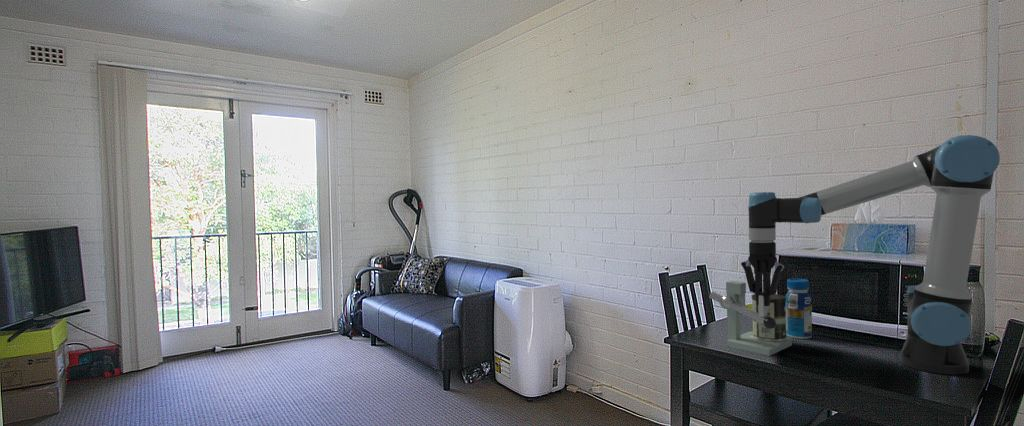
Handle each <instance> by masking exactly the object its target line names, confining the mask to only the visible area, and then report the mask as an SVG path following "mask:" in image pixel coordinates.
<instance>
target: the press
mask: <svg viewBox="0 0 1024 426" xmlns="http://www.w3.org/2000/svg"><path fill="white" fill-rule="evenodd" d="M746 284H747V283H746V282H743V281H735V280H729V281H726V282H725V289H726V290H725V292H726V296H731V297H732V298H733V299H734V301H735V302H736V303H738V304H740V305H742V306H744V307H746V294H747V285H746ZM726 316H727V317H726V318H727V319H726V321H727V322H726V323H727V333H726V334H727V339H726V347H727V346H729V347H728V348H732V349H737V350H741V351H745V352H750V353H754V354H758V355H762V356H768V357H770V356H773V355H774V354H776V353H779V352H780V351H783V350H786V349H787V348H789V347H791V346H793V341H792V340H793V337H789V336H787V335H786V338H787V339H786V340H784V341H778V342H772V341H763V340H759V339H756V338H754V337H753V330H752V331H751V330H750V331H747V332H745V333H741V313H740V312H738V311H736V310H733V309H731V308H729V309H726Z"/></svg>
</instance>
